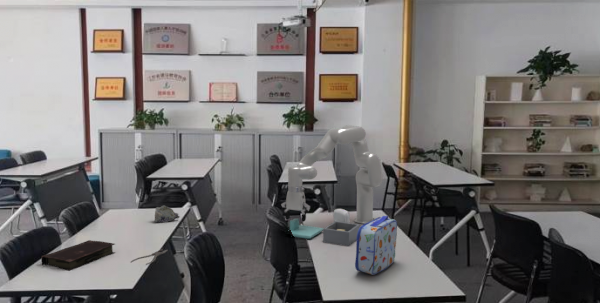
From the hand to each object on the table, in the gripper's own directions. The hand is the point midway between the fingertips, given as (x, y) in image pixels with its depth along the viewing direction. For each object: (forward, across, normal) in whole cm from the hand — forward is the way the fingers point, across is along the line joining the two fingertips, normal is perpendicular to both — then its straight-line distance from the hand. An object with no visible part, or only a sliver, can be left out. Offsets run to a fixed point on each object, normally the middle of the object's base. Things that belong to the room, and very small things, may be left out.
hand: (295, 220), depth 247 cm
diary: (+6, +69, +81) cm, 107 cm away
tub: (+7, -27, 0) cm, 28 cm away
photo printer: (+8, -21, -15) cm, 27 cm away
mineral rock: (+7, +79, +15) cm, 81 cm away
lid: (+7, -6, 0) cm, 9 cm away
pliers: (+7, +43, +65) cm, 78 cm away
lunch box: (+7, -55, +30) cm, 63 cm away
